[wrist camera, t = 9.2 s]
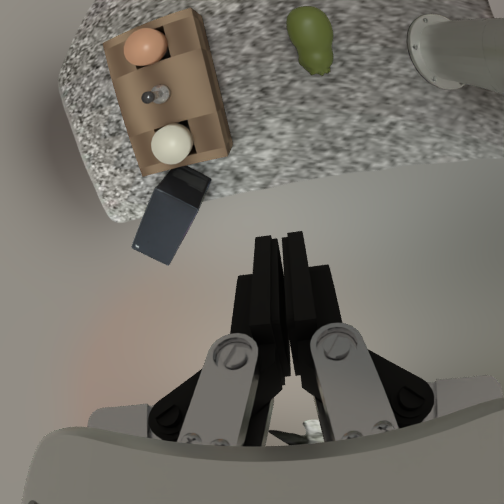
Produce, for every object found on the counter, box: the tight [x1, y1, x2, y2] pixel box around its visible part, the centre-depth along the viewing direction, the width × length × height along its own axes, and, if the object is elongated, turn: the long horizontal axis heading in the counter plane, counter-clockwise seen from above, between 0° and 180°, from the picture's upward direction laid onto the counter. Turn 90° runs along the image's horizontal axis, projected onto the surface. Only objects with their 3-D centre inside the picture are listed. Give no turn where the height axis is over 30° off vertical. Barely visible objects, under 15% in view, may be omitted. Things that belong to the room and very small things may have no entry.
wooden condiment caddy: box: [103, 8, 233, 176], centre depth 31 cm, size 12×20×6 cm, turn 12°
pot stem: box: [141, 84, 171, 104], centre depth 27 cm, size 2×2×5 cm
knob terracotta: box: [124, 28, 171, 66], centre depth 26 cm, size 5×5×8 cm
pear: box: [286, 6, 333, 76], centre depth 27 cm, size 6×5×10 cm
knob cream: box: [151, 120, 194, 164], centre depth 34 cm, size 5×5×8 cm
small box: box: [132, 166, 211, 265], centre depth 40 cm, size 11×6×10 cm, turn 149°
